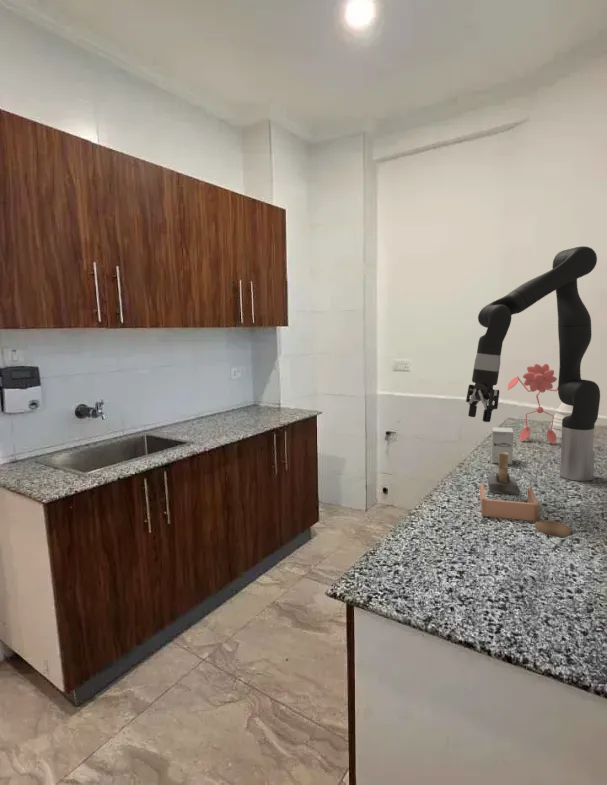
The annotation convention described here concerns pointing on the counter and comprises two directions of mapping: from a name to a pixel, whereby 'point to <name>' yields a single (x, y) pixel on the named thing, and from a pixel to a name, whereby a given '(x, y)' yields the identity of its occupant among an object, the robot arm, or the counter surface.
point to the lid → (552, 528)
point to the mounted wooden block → (502, 478)
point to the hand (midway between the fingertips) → (478, 419)
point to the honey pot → (560, 418)
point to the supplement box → (501, 443)
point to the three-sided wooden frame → (510, 507)
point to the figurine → (539, 381)
